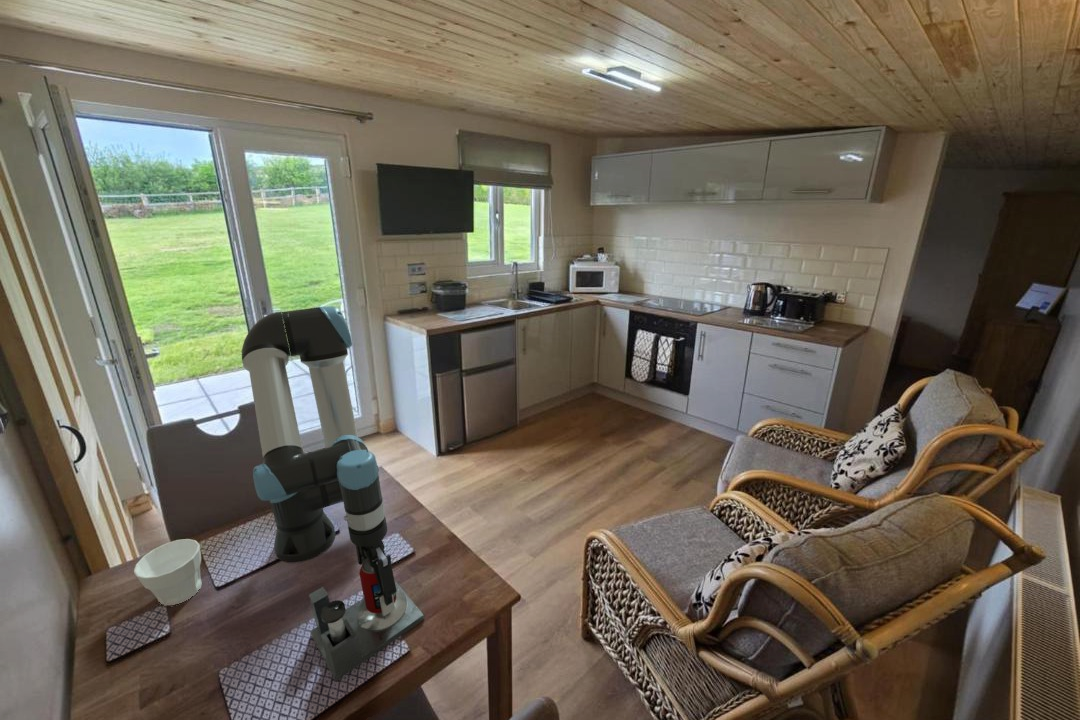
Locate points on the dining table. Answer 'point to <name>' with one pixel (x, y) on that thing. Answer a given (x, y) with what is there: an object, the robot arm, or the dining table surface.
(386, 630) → the press
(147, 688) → the dining table surface
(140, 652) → the dining table surface
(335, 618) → the plunger
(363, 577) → the beverage can
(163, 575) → the cup
